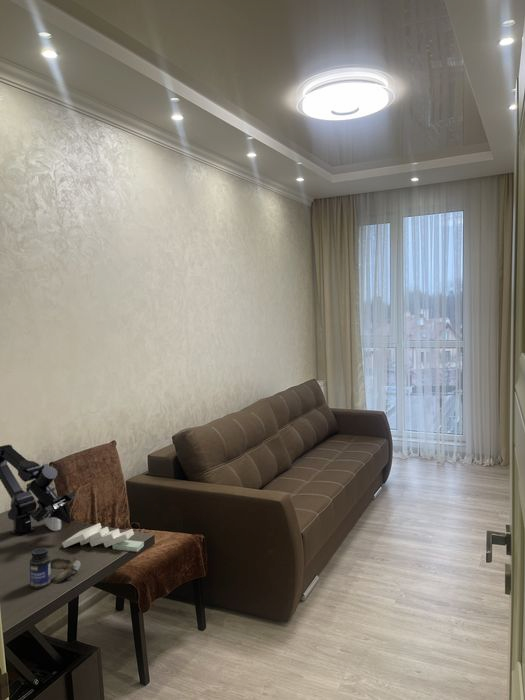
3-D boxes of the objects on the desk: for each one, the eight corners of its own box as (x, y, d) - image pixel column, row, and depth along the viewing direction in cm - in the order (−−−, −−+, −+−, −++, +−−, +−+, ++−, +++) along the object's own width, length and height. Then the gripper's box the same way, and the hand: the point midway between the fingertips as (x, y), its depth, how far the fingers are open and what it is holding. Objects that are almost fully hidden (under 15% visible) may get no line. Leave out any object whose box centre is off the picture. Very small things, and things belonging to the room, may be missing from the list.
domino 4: (103, 542, 196) (125, 534, 193) (110, 536, 200) (132, 528, 198) (105, 547, 196) (127, 539, 193) (112, 541, 200) (134, 533, 198)
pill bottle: (28, 590, 166) (27, 555, 165) (32, 580, 172) (31, 547, 171) (49, 587, 167) (48, 553, 166) (52, 578, 173) (51, 545, 172)
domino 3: (89, 541, 197) (111, 533, 194) (97, 536, 202) (118, 528, 199) (91, 546, 197) (113, 538, 194) (99, 541, 202) (120, 533, 199)
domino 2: (78, 540, 198) (99, 531, 195) (86, 535, 203) (107, 526, 200) (81, 545, 198) (101, 536, 195) (89, 539, 203) (109, 531, 200)
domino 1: (62, 543, 196) (83, 534, 194) (79, 531, 207) (99, 522, 204) (64, 548, 196) (85, 539, 193) (81, 536, 207) (101, 527, 204)
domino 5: (112, 544, 195) (137, 547, 192) (119, 539, 200) (143, 541, 197) (112, 550, 195) (137, 552, 193) (119, 544, 200) (143, 547, 197)
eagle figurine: (69, 564, 181) (43, 568, 174) (77, 549, 178) (52, 553, 172) (77, 583, 176) (51, 588, 169) (86, 568, 174) (60, 573, 167)
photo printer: (43, 524, 218) (42, 495, 217) (54, 522, 221) (53, 492, 220) (51, 532, 210) (50, 501, 210) (62, 529, 213) (61, 499, 212)
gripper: (46, 498, 214) (71, 527, 212) (14, 514, 196) (41, 546, 194) (62, 480, 211) (88, 509, 210) (32, 495, 193) (60, 527, 191)
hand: (70, 523), depth 201 cm, fingers closed
